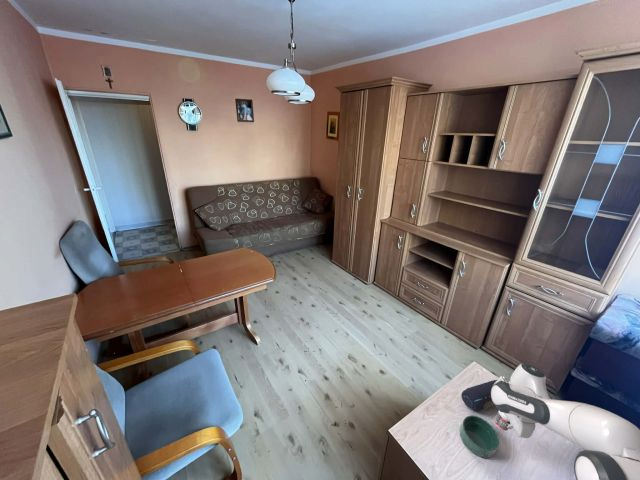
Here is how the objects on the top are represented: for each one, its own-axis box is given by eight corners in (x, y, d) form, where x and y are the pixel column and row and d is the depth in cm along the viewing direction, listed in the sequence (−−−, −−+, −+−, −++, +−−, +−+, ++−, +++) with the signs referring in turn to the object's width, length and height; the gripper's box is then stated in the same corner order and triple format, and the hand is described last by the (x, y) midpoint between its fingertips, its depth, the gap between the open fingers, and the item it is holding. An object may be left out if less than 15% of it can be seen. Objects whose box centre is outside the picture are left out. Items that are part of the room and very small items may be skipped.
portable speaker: (471, 417, 126) (478, 404, 122) (456, 398, 135) (462, 385, 131) (510, 404, 134) (518, 391, 129) (493, 386, 142) (500, 373, 138)
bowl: (500, 460, 111) (505, 452, 109) (467, 456, 112) (471, 448, 109) (484, 424, 124) (488, 417, 121) (454, 421, 124) (457, 414, 122)
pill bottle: (496, 429, 108) (504, 414, 104) (491, 416, 113) (499, 401, 109) (510, 432, 107) (519, 418, 103) (505, 419, 112) (513, 405, 108)
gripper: (494, 372, 112) (484, 393, 118) (524, 423, 93) (510, 445, 99) (509, 374, 111) (498, 395, 117) (542, 425, 93) (527, 447, 99)
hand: (504, 418), depth 108 cm, fingers closed on pill bottle, 5 cm apart
